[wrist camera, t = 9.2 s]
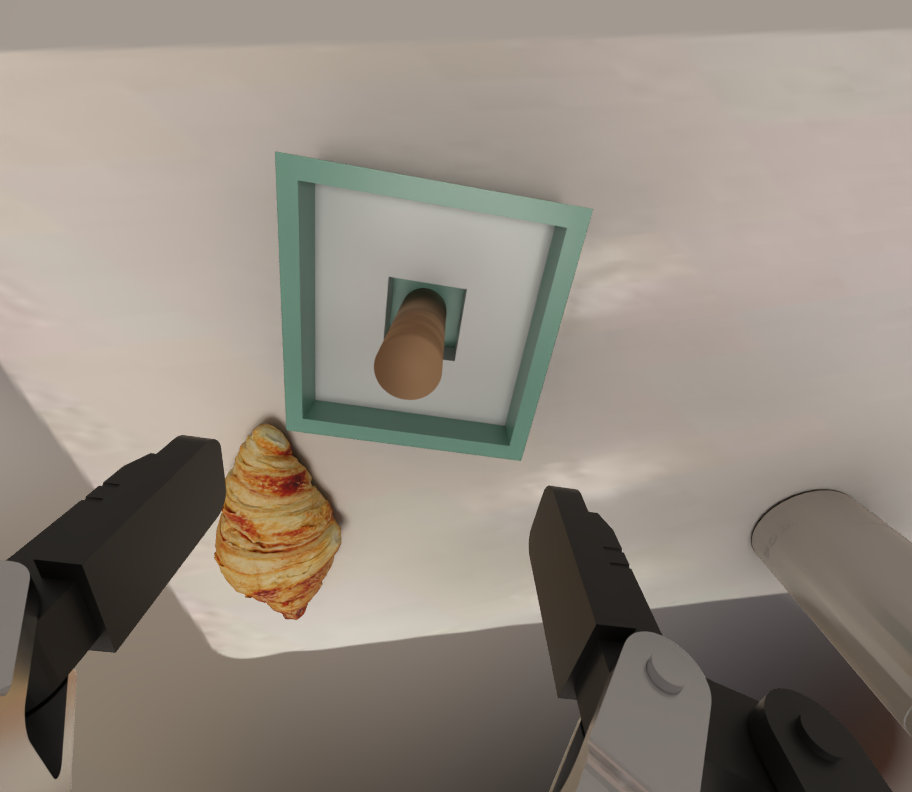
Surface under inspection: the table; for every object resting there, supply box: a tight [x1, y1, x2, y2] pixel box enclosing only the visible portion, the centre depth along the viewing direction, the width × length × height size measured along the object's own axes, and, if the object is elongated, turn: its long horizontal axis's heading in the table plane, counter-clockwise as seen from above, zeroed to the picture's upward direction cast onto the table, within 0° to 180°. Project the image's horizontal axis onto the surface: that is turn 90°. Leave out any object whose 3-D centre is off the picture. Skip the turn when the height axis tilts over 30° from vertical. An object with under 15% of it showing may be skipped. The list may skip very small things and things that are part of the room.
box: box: [275, 152, 593, 461], centre depth 24 cm, size 15×15×6 cm
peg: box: [374, 288, 447, 400], centre depth 22 cm, size 3×3×10 cm
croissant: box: [214, 424, 341, 620], centre depth 33 cm, size 21×10×8 cm, turn 178°
